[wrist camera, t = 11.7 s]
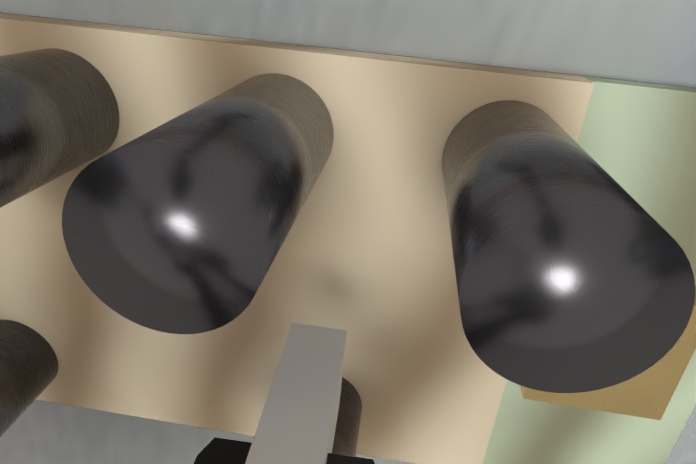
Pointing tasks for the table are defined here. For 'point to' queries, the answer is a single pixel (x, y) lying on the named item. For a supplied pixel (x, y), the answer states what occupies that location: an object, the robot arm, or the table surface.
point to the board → (347, 249)
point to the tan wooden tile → (634, 384)
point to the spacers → (287, 201)
